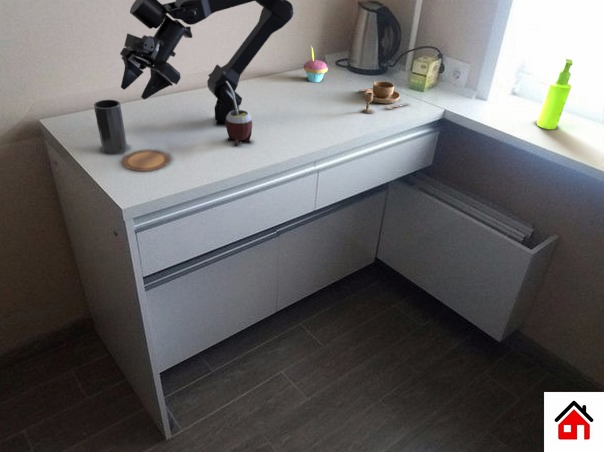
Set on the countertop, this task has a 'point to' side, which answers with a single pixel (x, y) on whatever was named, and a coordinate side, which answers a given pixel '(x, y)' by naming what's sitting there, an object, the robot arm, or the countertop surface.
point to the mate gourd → (238, 124)
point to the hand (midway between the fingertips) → (132, 93)
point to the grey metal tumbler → (110, 126)
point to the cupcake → (315, 69)
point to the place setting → (381, 94)
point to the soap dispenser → (555, 98)
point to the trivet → (145, 160)
